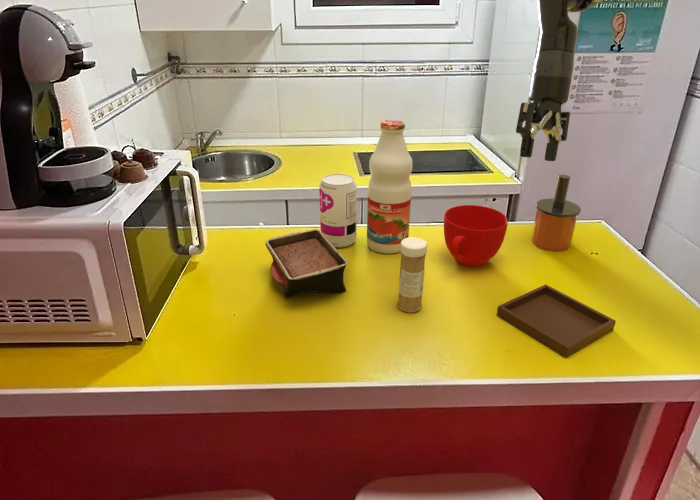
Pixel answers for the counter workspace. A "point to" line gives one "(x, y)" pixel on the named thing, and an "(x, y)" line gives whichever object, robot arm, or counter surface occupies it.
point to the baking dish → (306, 263)
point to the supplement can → (338, 209)
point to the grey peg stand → (559, 201)
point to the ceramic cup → (474, 233)
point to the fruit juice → (389, 190)
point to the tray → (556, 319)
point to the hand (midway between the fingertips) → (538, 159)
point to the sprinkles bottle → (411, 274)
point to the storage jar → (553, 232)
